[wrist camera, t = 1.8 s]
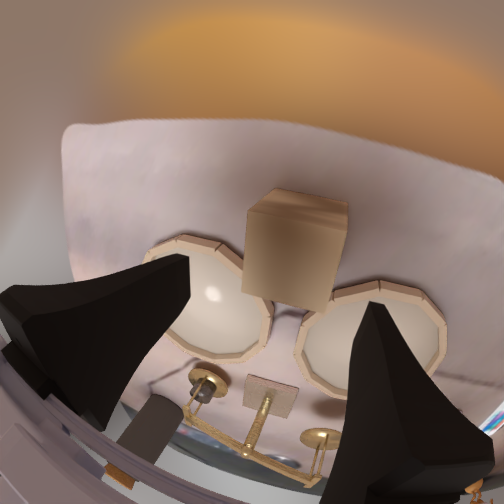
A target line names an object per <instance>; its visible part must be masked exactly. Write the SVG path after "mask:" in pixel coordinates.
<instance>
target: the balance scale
mask: <svg viewBox="0 0 504 504" xmlns="http://www.w3.org/2000/svg"><path fill="white" fill-rule="evenodd" d="M188 378H189V381H190V382H191V384H192V385H193V388H192V389H191V391H190V395H191V396H192V398H191V399H190V401H189V403H188V404H187V406H186V405H184V406H183V407H182V409H183V414H184V418H185V422H186V424H187V425H189V426H191V427H192V425H194V426H196V427H197V428H199V429H200V430H202V431H203V432H205V433H206V434H208V435H210V436H211V437H213V438H214V439H216V440H218V441H219V442H221V443H223V444H225V445H226V446H228V447H230V448H231V449H233V450H235V451H237V452H239V453H241V456H242V457H243V458H245V459H247V458H250V459H252V460H254V461H256V462H258V463H260V464H262V465H264V466H266V467H268V468H270V469H272V470H274V471H277V472H279V473H281V474H283V475H285V476H288V477H290V478H292V479H295V480H297V481H300V482H302V483H304V487H306V488H310V487H312V486H313V485H314V484H315V483H317V482H318V481H319V480H320V479H321V477H322V475H320V471H321V467H322V463H323V459H324V455H325V451H326V450H334V449H338V447H339V443H340V439H341V435H342V433H341V432H339V431H336V430H333V429H327V428H313V429H308V430H305V431H304V432H302V433H301V436H300V441H301V442H302V443H303V444H304V445H306V446H308V447H311V448H314V449H316V453H315V456H314V460H313V464H312V467H311V471H310V475H308V474H305V473H303V472H300V471H298V470H296V469H293V468H291V467H289V466H286V465H284V464H282V463H280V462H277V461H275V460H273V459H271V458H269V457H267V456H265V455H263V454H261V453H259V452H257V451H255V450H254V448H255V445H256V443H257V440H258V438H259V435H260V433H261V430H262V428H263V425H264V423H265V420H266V418H267V415H268V414H272V415H275V416H279V417H282V418H286V419H287V417H288V415H289V413H290V410H291V408H292V405H293V403H294V400H295V398H296V395H297V392H298V388H294V387H291V386H287V385H283V384H279V383H276V382H272V381H269V380H265V379H262V378H259V377H255V376H252V375H249V374H248V376H247V378H246V381H245V389H244V397H243V405H242V406H245V407H248V408H251V409H255V410H258V412H257V415H256V417H255V420H254V422H253V424H252V427H251V429H250V431H249V434H248V436H247V438H246V440H245V443H244V445H243V444H242V443H240V442H238V441H236V440H234V439H232V438H231V437H229V436H227V435H226V434H224V433H222V432H220V431H219V430H217V429H215V428H214V427H212V426H210V425H209V424H207V423H206V422H204V421H203V420H201V419H199V418H198V417H196V416H195V415H196V414H197V412H198V410H199V409H200V407H201V405H202V404H203V403H204V404H208V403H209V402H210V400H211V399H212V397H216V398H220V397H224V396H225V395H226V394H227V392H228V387H227V384H226V383H225V382H224V380H223V379H222V378H220V377H219V376H218V375H216V374H215V373H213V372H211V371H208V370H206V369H201V368H195V369H192V370H191V371H190V373H189V375H188ZM193 399H195V400H196V401H198V402H200V404H199V406H198V408H197V409H196V411H195V413H194V414H192V413H191V410H190V407H189V406H190V404H191V403H192V401H193ZM319 450H323V452H322V456H321V460H320V464H319V468H318V471H317V474H314V475H313V476H312V473H313V470H314V466H315V462H316V458H317V454H318V451H319Z"/></svg>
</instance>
